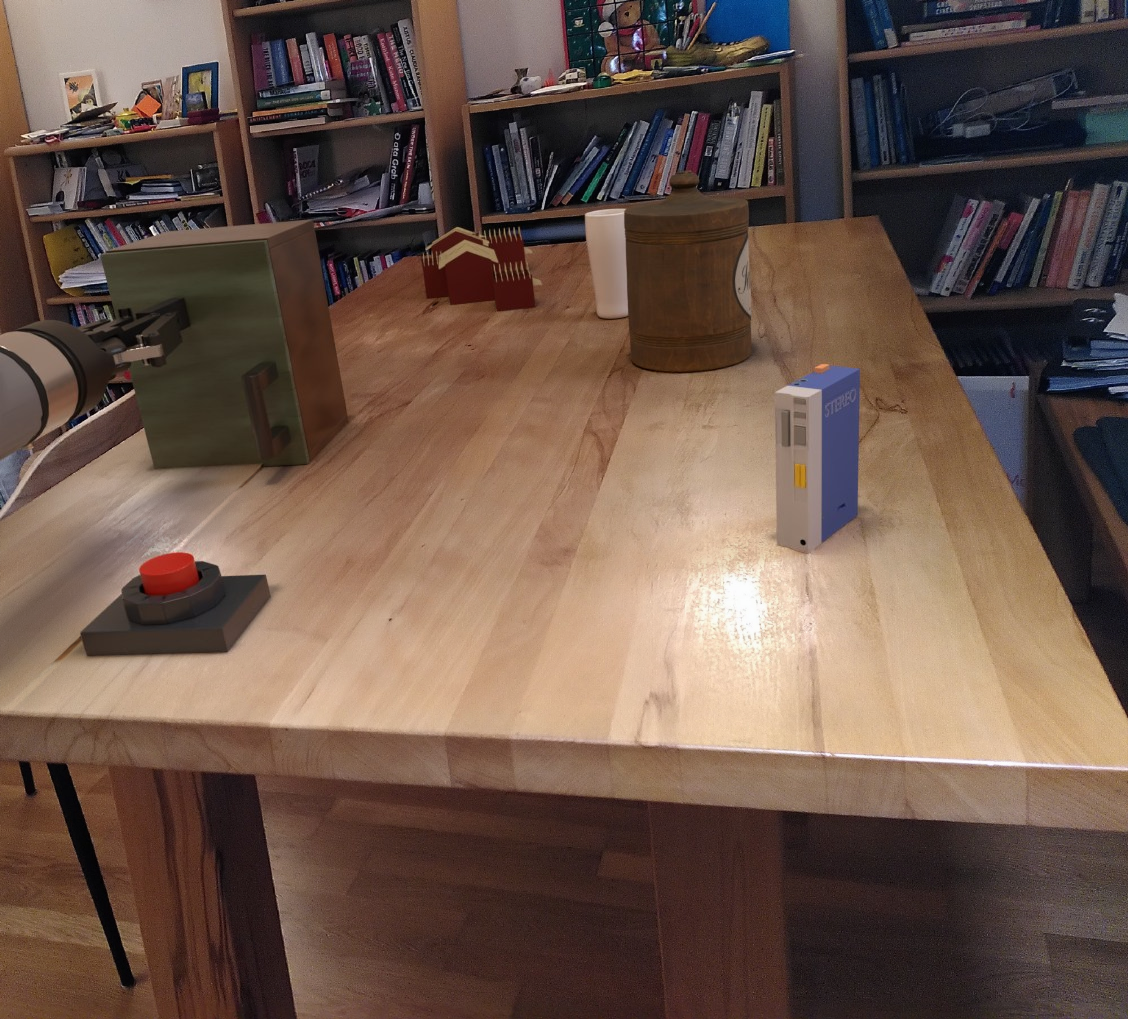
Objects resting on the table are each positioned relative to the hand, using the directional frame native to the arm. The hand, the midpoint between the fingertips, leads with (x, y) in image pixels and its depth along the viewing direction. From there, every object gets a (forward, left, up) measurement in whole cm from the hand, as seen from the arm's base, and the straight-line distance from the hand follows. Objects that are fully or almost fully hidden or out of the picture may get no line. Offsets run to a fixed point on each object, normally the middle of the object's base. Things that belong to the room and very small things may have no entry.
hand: (179, 312), depth 98 cm
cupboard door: (+1, -2, -16) cm, 16 cm away
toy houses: (+11, +91, -16) cm, 93 cm away
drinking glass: (+36, +61, -16) cm, 73 cm away
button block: (+11, -32, -16) cm, 38 cm away
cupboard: (+1, +8, -16) cm, 18 cm away
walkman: (+56, -20, -16) cm, 62 cm away
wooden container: (+47, +34, -16) cm, 60 cm away
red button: (+11, -32, -13) cm, 37 cm away
